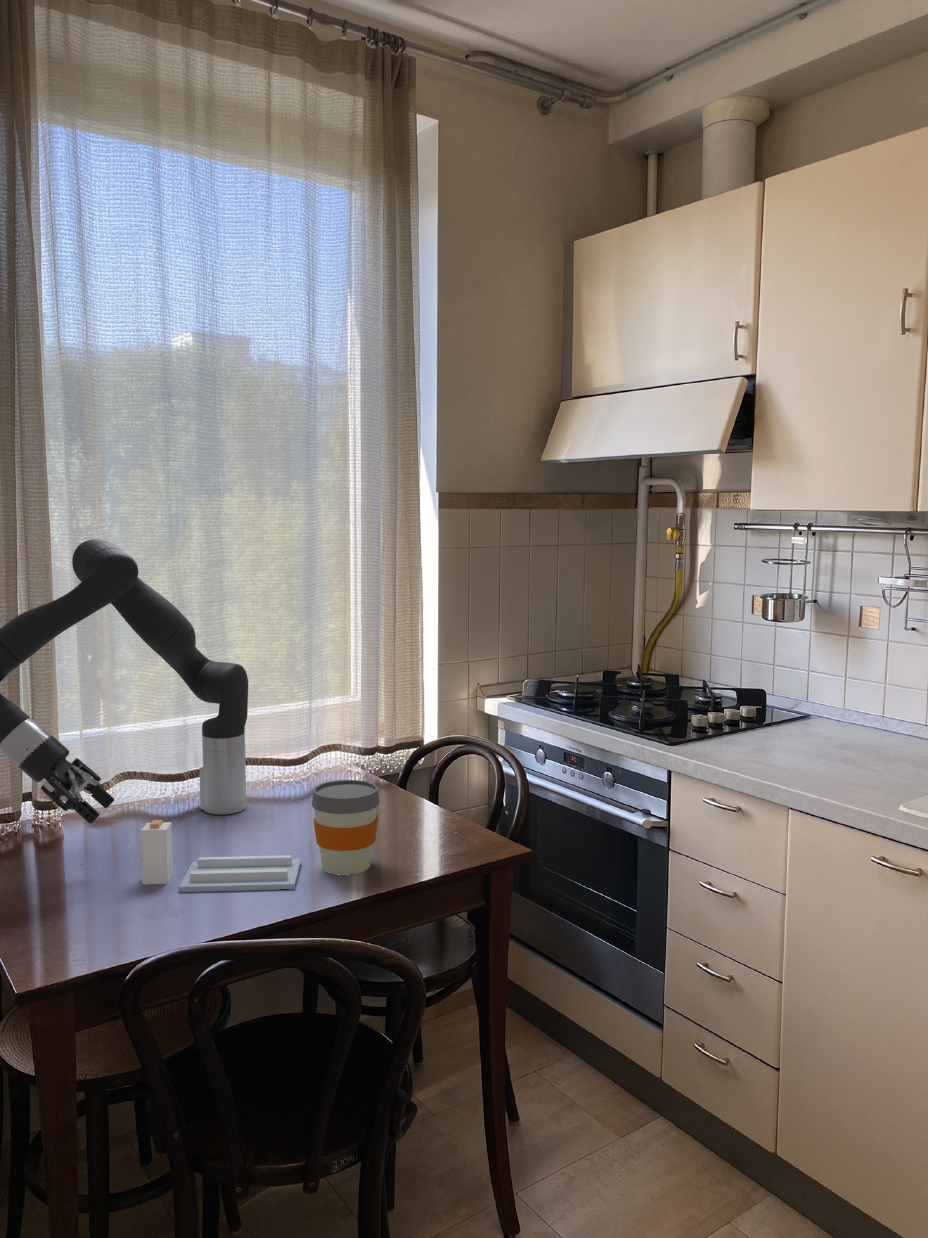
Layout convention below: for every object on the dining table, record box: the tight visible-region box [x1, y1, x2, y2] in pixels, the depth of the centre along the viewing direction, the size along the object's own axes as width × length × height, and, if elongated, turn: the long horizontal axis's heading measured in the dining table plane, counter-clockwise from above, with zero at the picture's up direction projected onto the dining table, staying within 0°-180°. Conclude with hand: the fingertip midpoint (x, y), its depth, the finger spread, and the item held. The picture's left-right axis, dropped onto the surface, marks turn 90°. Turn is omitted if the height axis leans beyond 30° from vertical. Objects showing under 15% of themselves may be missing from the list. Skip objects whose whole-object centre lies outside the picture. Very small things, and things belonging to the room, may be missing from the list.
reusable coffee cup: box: [311, 779, 380, 876], centre depth 172 cm, size 12×13×15 cm
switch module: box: [140, 819, 174, 885], centre depth 166 cm, size 4×4×11 cm
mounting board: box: [178, 854, 302, 893], centre depth 167 cm, size 20×12×2 cm, turn 95°
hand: (103, 811), depth 164 cm, fingers open, 8 cm apart
